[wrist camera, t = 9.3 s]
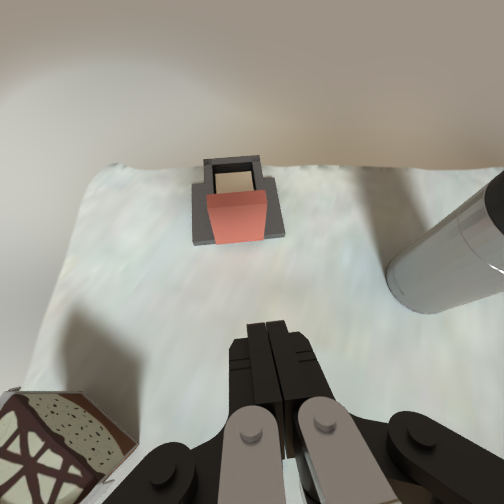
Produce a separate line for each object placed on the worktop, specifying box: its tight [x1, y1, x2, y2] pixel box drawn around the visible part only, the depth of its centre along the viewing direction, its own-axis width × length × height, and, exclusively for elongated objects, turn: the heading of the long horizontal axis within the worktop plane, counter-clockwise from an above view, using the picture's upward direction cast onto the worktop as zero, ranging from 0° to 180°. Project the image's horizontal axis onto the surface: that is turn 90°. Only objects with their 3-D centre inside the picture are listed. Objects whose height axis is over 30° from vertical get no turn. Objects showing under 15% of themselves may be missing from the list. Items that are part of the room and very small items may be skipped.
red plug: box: [207, 171, 267, 244], centre depth 36 cm, size 7×9×9 cm
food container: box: [0, 387, 139, 504], centre depth 24 cm, size 12×6×10 cm, turn 57°
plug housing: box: [192, 155, 285, 246], centre depth 39 cm, size 14×11×6 cm
